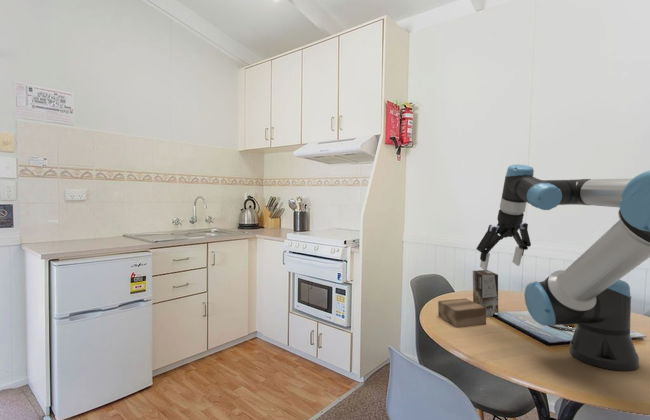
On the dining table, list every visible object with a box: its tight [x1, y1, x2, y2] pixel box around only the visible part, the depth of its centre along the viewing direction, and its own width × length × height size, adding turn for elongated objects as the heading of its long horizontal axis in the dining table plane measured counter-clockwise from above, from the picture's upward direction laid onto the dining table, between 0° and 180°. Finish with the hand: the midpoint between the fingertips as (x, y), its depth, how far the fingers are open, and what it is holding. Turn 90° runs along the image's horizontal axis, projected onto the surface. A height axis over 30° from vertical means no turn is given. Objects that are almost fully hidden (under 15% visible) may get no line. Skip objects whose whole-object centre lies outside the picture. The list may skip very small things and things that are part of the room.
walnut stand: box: [437, 298, 487, 328], centre depth 129 cm, size 12×12×6 cm
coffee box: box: [472, 269, 499, 317], centre depth 137 cm, size 9×6×16 cm
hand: (499, 266), depth 123 cm, fingers open, 13 cm apart
